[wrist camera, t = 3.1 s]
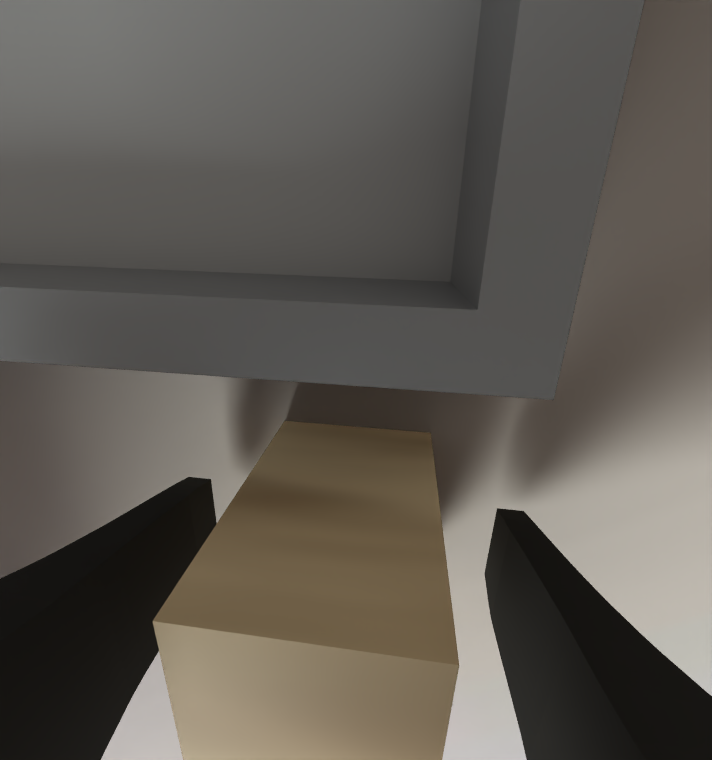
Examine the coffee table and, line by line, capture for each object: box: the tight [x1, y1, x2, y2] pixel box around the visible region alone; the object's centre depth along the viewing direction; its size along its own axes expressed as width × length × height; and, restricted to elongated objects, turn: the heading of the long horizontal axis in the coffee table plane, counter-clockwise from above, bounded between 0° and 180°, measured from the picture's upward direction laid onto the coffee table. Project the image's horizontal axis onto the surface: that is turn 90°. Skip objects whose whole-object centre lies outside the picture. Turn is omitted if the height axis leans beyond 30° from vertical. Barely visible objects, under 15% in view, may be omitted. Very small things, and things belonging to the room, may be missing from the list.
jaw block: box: [153, 421, 459, 760], centre depth 8 cm, size 4×4×6 cm
